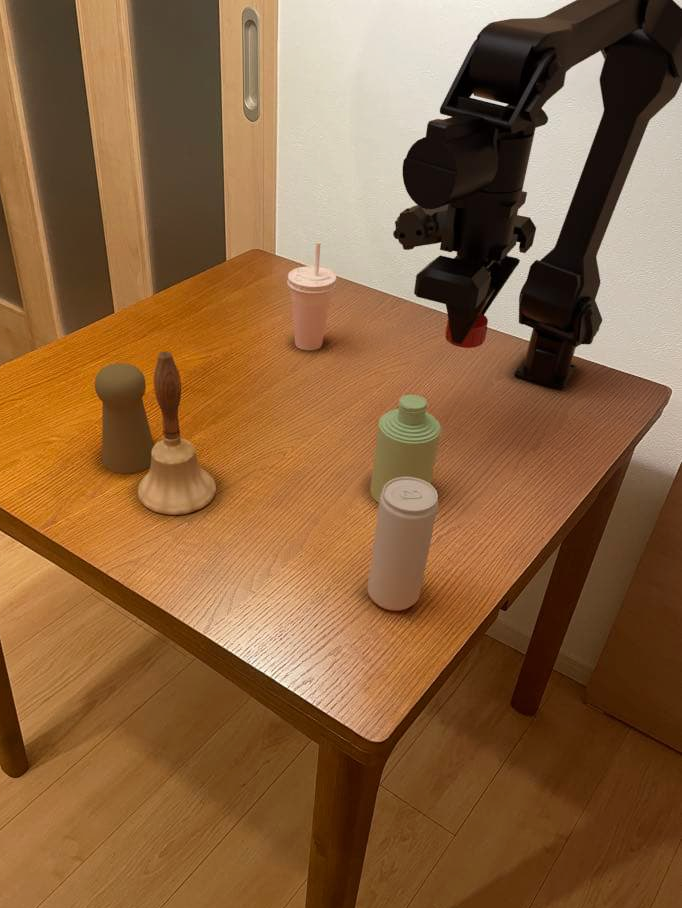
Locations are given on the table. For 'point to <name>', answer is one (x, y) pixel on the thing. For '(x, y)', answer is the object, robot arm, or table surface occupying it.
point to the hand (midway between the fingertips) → (464, 334)
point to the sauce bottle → (405, 444)
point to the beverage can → (402, 542)
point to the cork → (124, 419)
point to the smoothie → (310, 302)
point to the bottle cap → (472, 333)
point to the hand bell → (173, 454)
